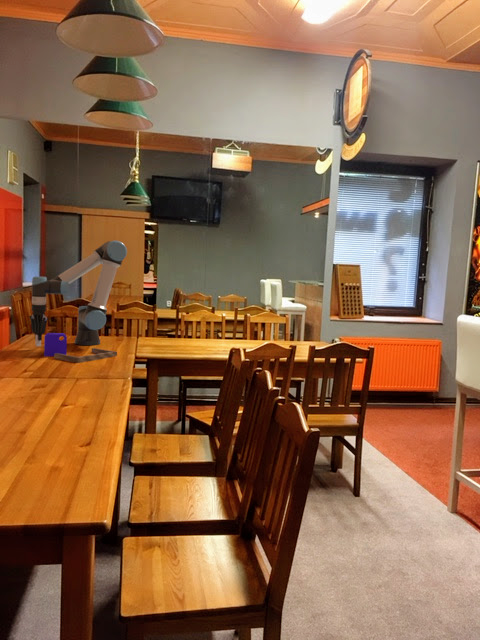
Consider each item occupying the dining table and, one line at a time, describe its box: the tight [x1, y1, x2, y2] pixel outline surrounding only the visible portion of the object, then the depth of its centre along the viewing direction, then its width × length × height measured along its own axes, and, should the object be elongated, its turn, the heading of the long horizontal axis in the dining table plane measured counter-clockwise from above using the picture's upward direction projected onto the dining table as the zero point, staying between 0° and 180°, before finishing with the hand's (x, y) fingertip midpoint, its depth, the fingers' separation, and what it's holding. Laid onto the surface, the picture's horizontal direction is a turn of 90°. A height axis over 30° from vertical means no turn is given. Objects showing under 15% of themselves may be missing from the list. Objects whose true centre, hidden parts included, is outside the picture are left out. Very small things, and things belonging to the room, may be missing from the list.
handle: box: [53, 347, 118, 364], centre depth 273 cm, size 28×17×2 cm, turn 151°
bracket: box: [43, 332, 68, 357], centre depth 279 cm, size 18×11×12 cm, turn 23°
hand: (38, 345), depth 289 cm, fingers closed
